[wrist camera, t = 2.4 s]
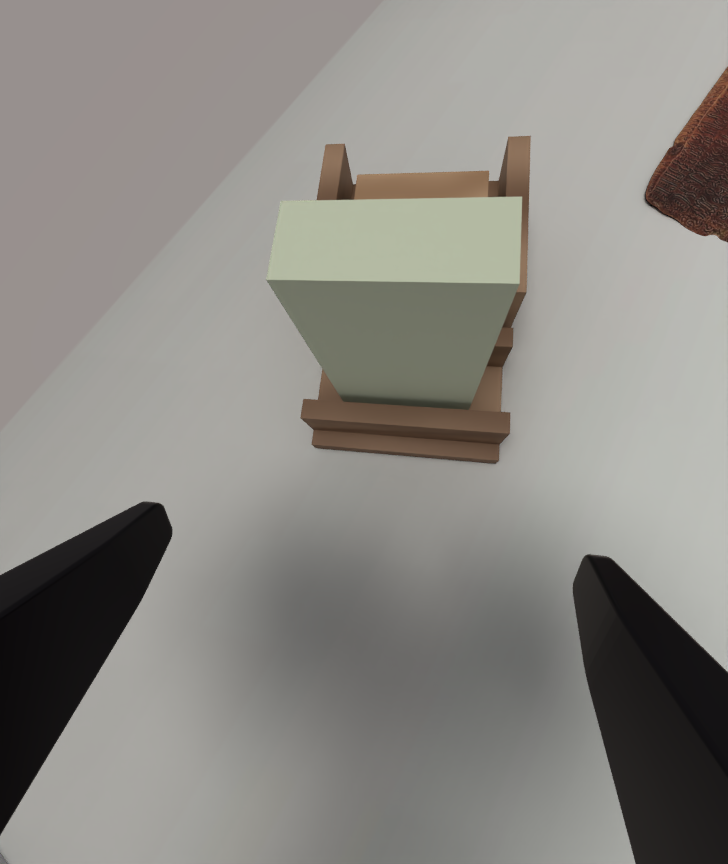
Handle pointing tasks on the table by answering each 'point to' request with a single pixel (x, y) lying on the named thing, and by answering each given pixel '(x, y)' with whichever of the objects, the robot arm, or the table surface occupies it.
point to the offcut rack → (412, 425)
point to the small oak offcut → (422, 185)
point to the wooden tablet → (697, 169)
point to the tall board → (399, 291)
